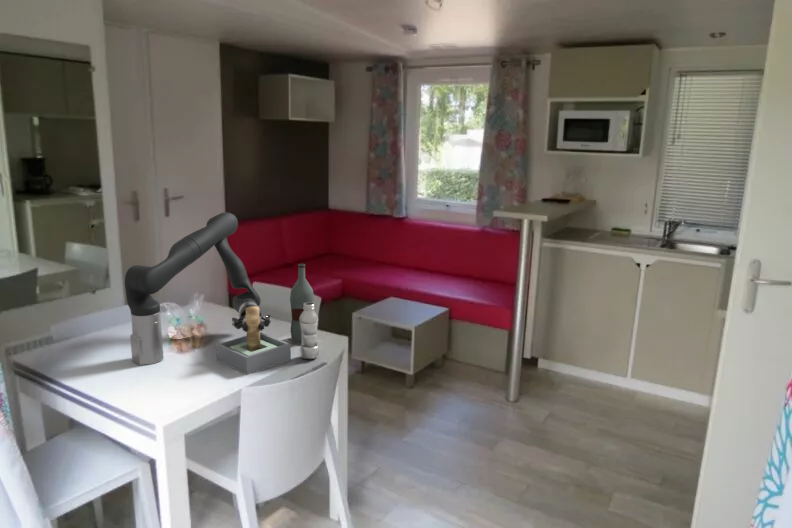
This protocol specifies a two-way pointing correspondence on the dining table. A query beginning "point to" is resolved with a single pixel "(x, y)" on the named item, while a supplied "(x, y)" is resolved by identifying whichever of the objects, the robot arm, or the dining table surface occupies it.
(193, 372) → the dining table surface
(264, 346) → the plate
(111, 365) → the dining table surface
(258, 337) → the peg
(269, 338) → the box
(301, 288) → the vodka
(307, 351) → the plastic bottle
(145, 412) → the dining table surface
